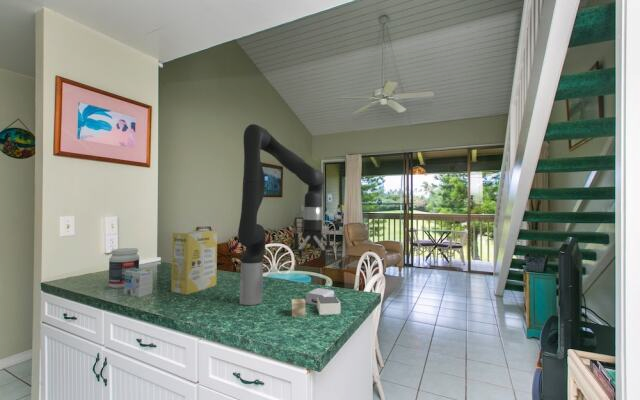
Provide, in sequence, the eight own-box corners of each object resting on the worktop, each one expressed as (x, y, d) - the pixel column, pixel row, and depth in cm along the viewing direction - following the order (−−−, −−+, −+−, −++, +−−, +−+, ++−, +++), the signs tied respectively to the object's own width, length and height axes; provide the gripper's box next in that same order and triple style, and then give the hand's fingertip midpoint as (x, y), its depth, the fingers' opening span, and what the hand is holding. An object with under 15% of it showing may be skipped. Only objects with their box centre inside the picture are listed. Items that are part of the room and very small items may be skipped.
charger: (340, 297, 134) (324, 307, 121) (322, 294, 138) (305, 303, 125) (340, 287, 134) (324, 295, 121) (322, 284, 138) (305, 292, 125)
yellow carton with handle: (201, 282, 157) (202, 230, 158) (216, 285, 152) (217, 231, 153) (171, 291, 141) (172, 232, 141) (186, 294, 136) (188, 233, 137)
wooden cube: (292, 316, 110) (292, 303, 110) (291, 312, 115) (291, 299, 115) (305, 316, 110) (305, 302, 110) (304, 311, 115) (304, 298, 115)
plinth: (319, 314, 112) (319, 303, 112) (317, 307, 120) (317, 296, 120) (340, 313, 113) (340, 302, 113) (336, 306, 121) (336, 296, 121)
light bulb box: (123, 294, 135) (123, 270, 136) (137, 290, 142) (137, 268, 142) (139, 297, 131) (140, 273, 132) (153, 293, 138) (153, 270, 138)
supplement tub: (127, 289, 144) (128, 251, 144) (101, 288, 144) (102, 251, 145) (144, 282, 157) (144, 247, 157) (120, 282, 157) (121, 247, 157)
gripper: (293, 218, 115) (292, 260, 115) (330, 219, 114) (329, 261, 113) (296, 217, 122) (295, 256, 122) (330, 218, 121) (330, 258, 121)
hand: (311, 259), depth 118 cm, fingers open, 8 cm apart
